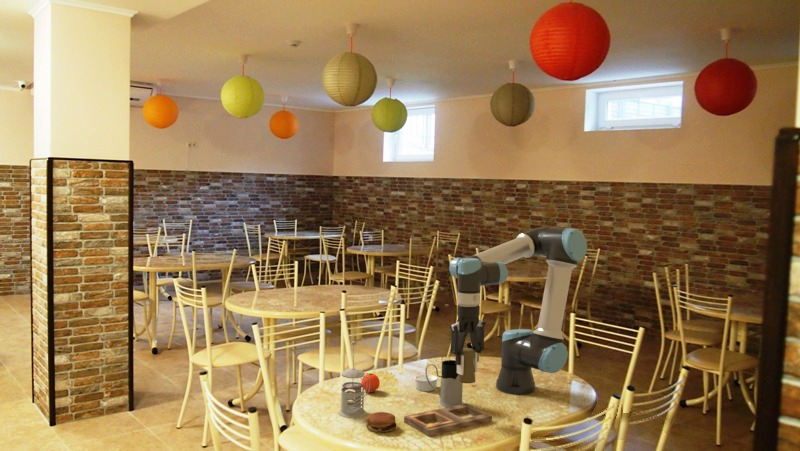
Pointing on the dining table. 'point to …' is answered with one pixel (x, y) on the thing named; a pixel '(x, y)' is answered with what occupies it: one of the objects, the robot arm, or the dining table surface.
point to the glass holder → (449, 384)
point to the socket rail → (447, 419)
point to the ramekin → (425, 382)
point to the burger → (381, 422)
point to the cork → (468, 367)
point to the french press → (352, 393)
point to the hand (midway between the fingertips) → (466, 372)
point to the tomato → (373, 382)
